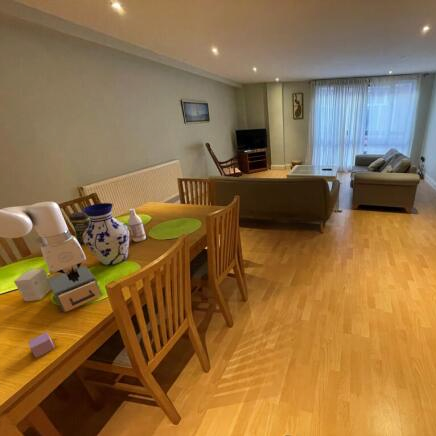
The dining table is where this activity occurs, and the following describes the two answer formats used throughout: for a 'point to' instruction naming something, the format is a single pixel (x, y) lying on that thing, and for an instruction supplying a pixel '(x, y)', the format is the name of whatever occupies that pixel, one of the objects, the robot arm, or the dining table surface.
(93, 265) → the dining table surface
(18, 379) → the dining table surface
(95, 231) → the vase
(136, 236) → the bath foam
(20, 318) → the dining table surface
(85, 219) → the coffee jar
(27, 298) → the small box
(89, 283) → the sliding drawer
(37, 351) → the lavender rounded block
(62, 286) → the drawer box
